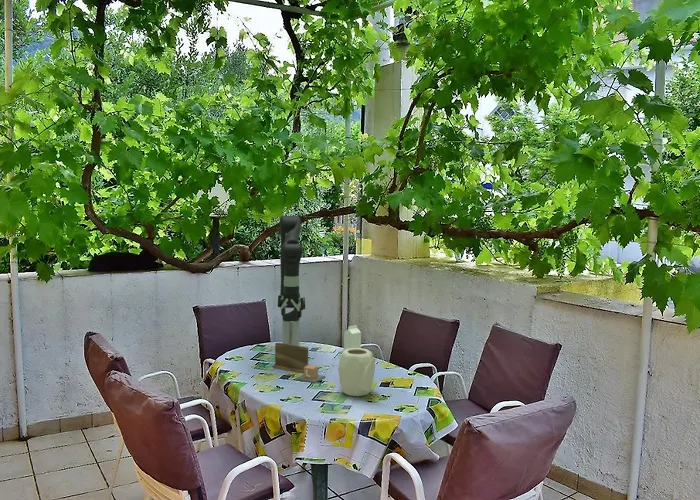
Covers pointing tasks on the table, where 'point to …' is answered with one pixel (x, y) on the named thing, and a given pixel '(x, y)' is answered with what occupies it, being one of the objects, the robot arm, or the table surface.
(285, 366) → the walnut screen
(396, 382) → the table surface
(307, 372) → the letter cube
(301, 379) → the slate pad
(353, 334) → the milk
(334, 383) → the table surface
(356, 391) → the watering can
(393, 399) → the table surface
